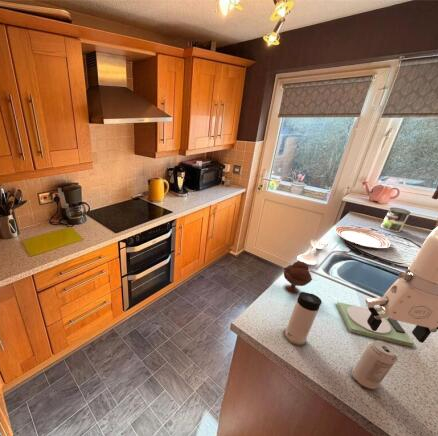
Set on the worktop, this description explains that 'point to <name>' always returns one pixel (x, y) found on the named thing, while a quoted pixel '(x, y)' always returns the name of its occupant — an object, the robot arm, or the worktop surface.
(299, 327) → the travel mug
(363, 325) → the kitchen scale
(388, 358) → the energy drink can
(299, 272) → the ice cream bowl
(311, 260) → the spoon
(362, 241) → the dinner plate
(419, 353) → the worktop surface
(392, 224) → the glass jar
